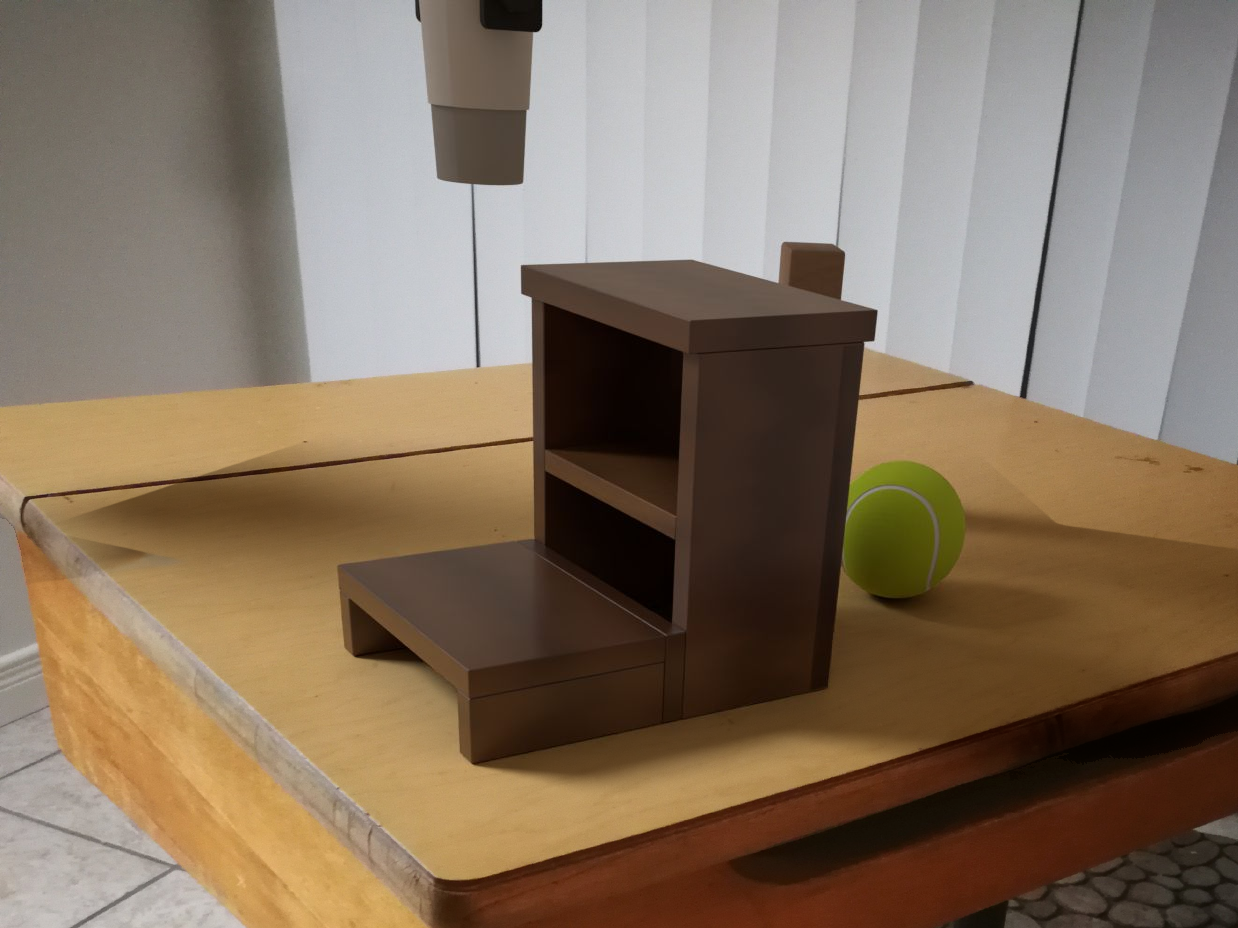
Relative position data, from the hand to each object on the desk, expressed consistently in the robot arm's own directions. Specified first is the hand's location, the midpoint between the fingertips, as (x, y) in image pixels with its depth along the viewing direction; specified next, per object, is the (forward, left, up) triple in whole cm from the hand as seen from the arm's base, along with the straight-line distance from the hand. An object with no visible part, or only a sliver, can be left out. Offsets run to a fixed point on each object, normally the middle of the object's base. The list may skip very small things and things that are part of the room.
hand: (477, 24), depth 74 cm
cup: (0, 0, -7) cm, 7 cm away
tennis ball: (+13, -23, -25) cm, 36 cm away
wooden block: (+19, -5, -25) cm, 32 cm away
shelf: (-7, -25, -25) cm, 36 cm away
